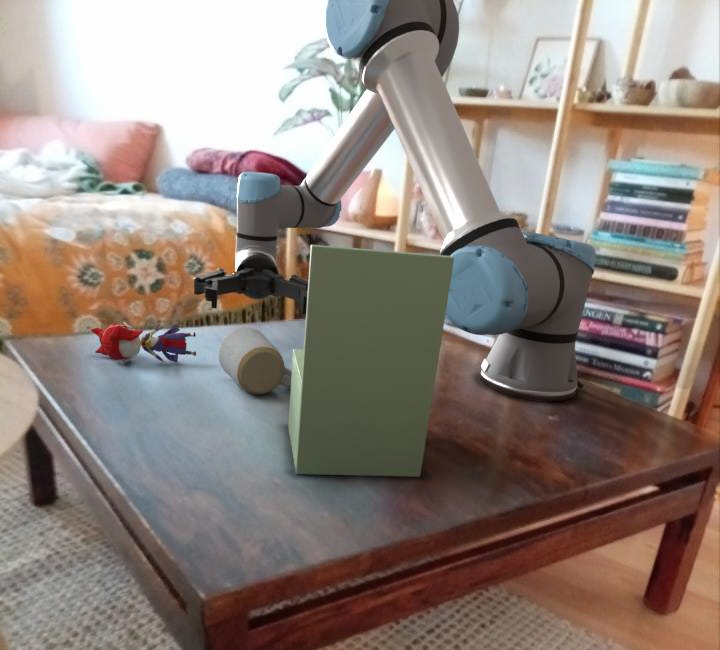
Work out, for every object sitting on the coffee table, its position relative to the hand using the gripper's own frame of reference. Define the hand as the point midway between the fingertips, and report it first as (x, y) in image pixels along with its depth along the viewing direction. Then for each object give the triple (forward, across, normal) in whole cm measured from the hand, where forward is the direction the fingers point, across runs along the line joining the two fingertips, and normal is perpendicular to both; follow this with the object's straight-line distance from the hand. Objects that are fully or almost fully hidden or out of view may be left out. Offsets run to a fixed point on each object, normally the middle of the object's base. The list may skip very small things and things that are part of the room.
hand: (260, 302), depth 105 cm
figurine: (+1, +17, -10) cm, 20 cm away
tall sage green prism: (+31, -10, -9) cm, 34 cm away
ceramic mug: (+10, 0, -10) cm, 14 cm away
